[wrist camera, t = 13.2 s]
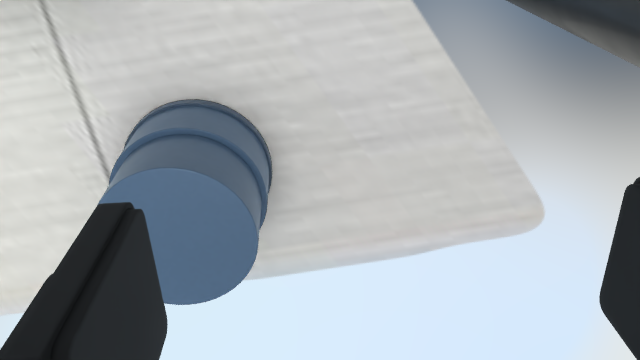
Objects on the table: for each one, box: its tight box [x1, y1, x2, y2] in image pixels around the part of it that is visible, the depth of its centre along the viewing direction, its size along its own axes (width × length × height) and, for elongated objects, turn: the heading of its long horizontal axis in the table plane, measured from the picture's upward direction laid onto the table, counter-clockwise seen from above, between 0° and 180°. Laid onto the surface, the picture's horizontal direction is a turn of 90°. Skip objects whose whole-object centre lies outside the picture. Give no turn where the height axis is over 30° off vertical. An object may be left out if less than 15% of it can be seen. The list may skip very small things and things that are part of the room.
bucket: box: [97, 100, 272, 305], centre depth 38 cm, size 11×11×10 cm
